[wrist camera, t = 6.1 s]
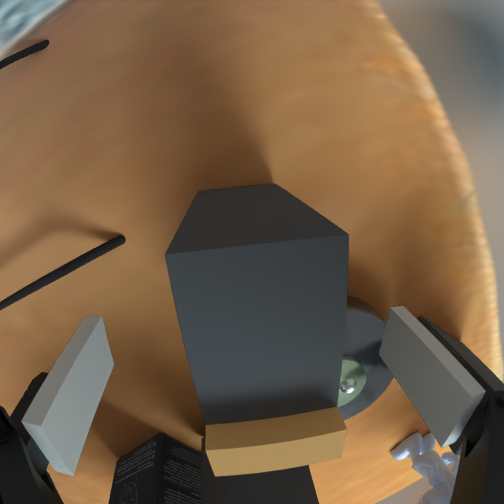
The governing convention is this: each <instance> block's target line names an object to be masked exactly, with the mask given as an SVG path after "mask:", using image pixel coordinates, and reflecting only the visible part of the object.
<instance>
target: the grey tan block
mask: <svg viewBox="0 0 504 504" xmlns="http://www.w3.org/2000/svg"><path fill="white" fill-rule="evenodd" d="M205 442H206V435H205V436H204V437H203V438H202V451H201V504H319V502H318V498H317V495H316V491H315V487H314V484H313V480H312V476H311V473H310V469H309V466H308V465H305V466H299V467H294V468H288V469H282V470H275V471H268V472H260V473H251V474H241V475H229V476H215V475H214V472H213V470H212V467H211V464H210V462H209V459H208V456H207V453H206V451H205Z"/></svg>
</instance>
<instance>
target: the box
mask: <svg viewBox="0 0 504 504" xmlns="http://www.w3.org/2000/svg"><path fill="white" fill-rule="evenodd" d="M109 504H201V453H200V452H198V451H196V450H194V449H192V448H190V447H188V446H186V445H184V444H182V443H180V442H179V441H177V440H175V439H173V438H171V437H169V436H167V435H165V434H163V433H159V434H158V435H156V436H155V437H153V438H152V439H150V440H149V441H147V442H146V443H144V444H143V445H141V446H140V447H138V448H136V449H135V450H133V451H132V452H130V453H129V454H127V455H125V456H124V457H122V458H120V459H119V460H117V463H116V468H115V473H114V478H113V483H112V488H111V494H110V499H109Z"/></svg>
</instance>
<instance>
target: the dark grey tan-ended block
mask: <svg viewBox="0 0 504 504" xmlns="http://www.w3.org/2000/svg"><path fill="white" fill-rule="evenodd" d="M348 253H349V234H348V233H346V232H345V231H343V230H342V229H341V228H339V227H338V226H336V225H335V224H334V223H332V222H331V221H329V220H328V219H327V218H325V217H324V216H322V215H321V214H319V213H318V212H317V211H315V210H314V209H312V208H311V207H309V206H308V205H306V204H305V203H304V202H302V201H301V200H299V199H298V198H296V197H295V196H293V195H292V194H290V193H289V192H287V191H286V190H284V189H283V188H281V187H280V186H278V185H277V184H264V185H253V186H243V187H233V188H224V189H215V190H206V191H198V193H197V195H196V197H195V198H194V200H193V202H192V204H191V206H190V208H189V209H188V211H187V213H186V215H185V217H184V219H183V221H182V223H181V224H180V226H179V228H178V230H177V232H176V234H175V236H174V238H173V240H172V242H171V244H170V246H169V248H168V250H167V252H166V254H165V257H166V263H167V268H168V273H169V279H170V284H171V289H172V293H173V298H174V303H175V308H176V312H177V317H178V321H179V326H180V330H181V334H182V339H183V343H184V347H185V351H186V355H187V359H188V363H189V367H190V371H191V375H192V378H193V382H194V386H195V390H196V393H197V397H198V400H199V404H200V407H201V411H202V414H203V418H204V421H205V424H206V442H205V451H206V453H207V456H208V459H209V462H210V464H211V467H212V470H213V472H214V475H215V476H229V475H241V474H251V473H260V472H268V471H275V470H282V469H288V468H294V467H299V466H305V465H310V464H315V463H320V462H324V461H329V460H333V459H337V458H341V455H342V451H343V446H344V442H345V437H346V432H347V428H346V426H345V423H344V421H343V419H342V416H341V414H340V412H339V409H338V407H337V404H338V396H339V388H340V379H341V370H342V360H343V349H344V337H345V323H346V307H347V287H348Z"/></svg>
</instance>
